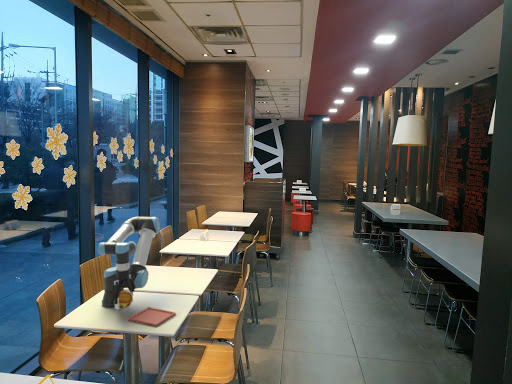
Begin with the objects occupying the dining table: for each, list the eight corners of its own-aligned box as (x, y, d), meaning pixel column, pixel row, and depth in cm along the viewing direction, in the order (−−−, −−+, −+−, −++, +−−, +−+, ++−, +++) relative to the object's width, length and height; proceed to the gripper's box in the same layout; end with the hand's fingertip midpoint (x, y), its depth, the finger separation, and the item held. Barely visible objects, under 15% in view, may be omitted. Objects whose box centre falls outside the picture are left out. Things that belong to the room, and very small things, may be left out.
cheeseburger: (125, 300, 227) (127, 286, 225) (135, 309, 221) (137, 294, 219) (110, 305, 220) (112, 290, 217) (119, 314, 213) (121, 299, 211)
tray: (128, 320, 211) (128, 318, 211) (149, 309, 228) (148, 307, 228) (156, 326, 204) (156, 324, 203) (175, 314, 220) (175, 312, 220)
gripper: (113, 276, 205) (114, 314, 207) (141, 264, 226) (142, 299, 229) (103, 274, 208) (104, 311, 210) (131, 263, 229) (132, 297, 232)
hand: (124, 305), depth 219 cm, fingers closed on cheeseburger, 10 cm apart
